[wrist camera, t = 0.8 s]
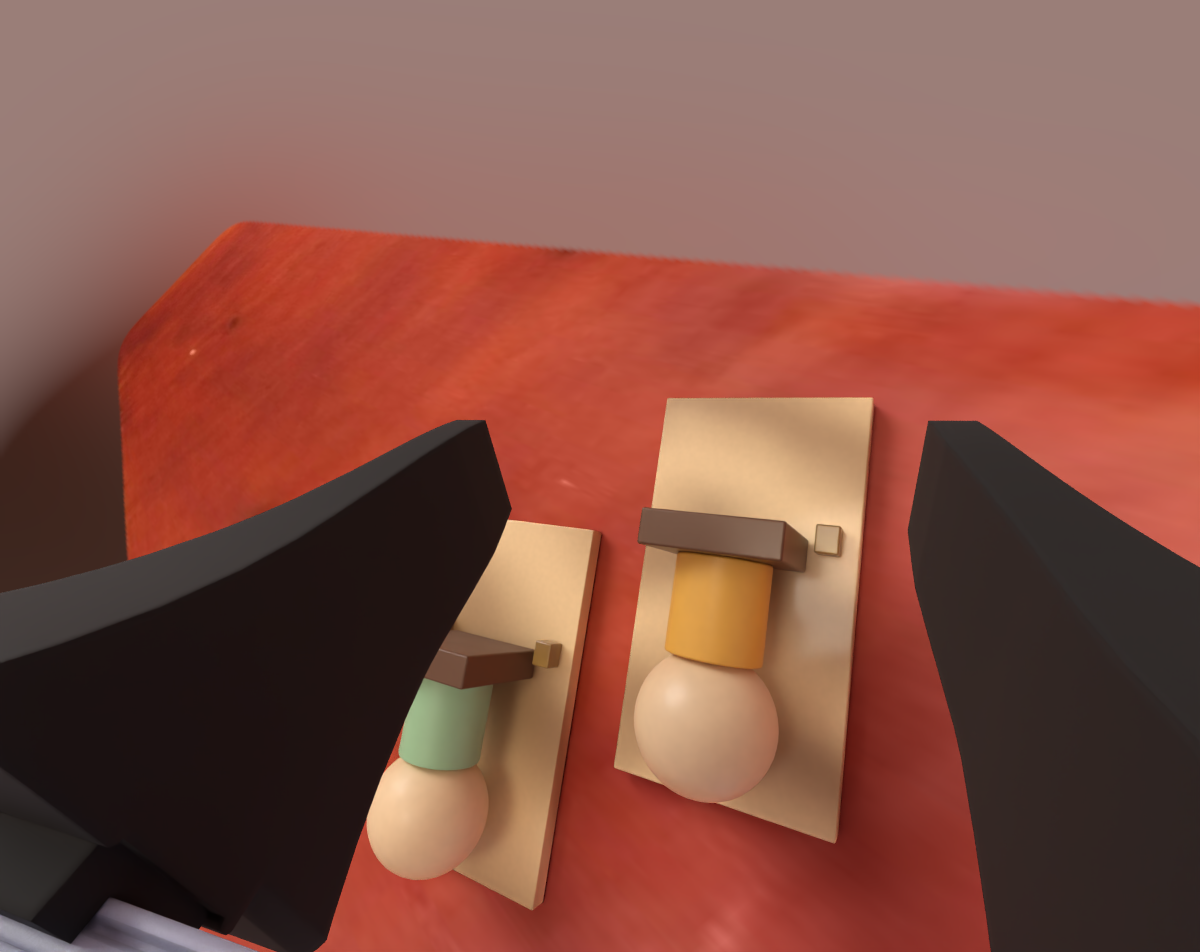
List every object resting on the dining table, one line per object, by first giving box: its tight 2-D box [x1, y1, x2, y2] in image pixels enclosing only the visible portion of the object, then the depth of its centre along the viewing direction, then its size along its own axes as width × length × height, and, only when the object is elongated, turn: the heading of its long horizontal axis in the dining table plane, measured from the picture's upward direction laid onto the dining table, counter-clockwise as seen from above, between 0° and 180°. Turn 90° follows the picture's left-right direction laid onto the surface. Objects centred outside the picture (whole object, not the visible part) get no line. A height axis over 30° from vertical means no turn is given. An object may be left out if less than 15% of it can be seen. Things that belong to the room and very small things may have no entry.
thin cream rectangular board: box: [451, 520, 601, 910], centre depth 25 cm, size 15×8×2 cm, turn 169°
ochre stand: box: [614, 398, 874, 843], centre depth 21 cm, size 15×8×2 cm, turn 169°
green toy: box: [367, 630, 534, 880], centre depth 23 cm, size 9×5×5 cm, turn 169°
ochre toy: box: [634, 507, 808, 803], centre depth 19 cm, size 9×5×5 cm, turn 169°
